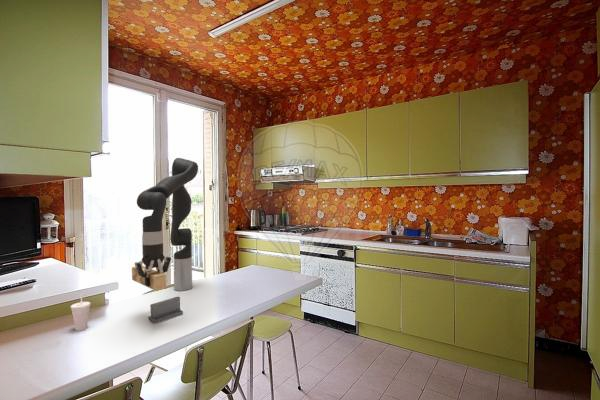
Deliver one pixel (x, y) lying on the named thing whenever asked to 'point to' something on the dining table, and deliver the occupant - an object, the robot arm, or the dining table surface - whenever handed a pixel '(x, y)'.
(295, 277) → the dining table surface
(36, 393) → the dining table surface
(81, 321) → the smoothie
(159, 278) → the oak beam
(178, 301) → the ridge
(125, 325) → the dining table surface
